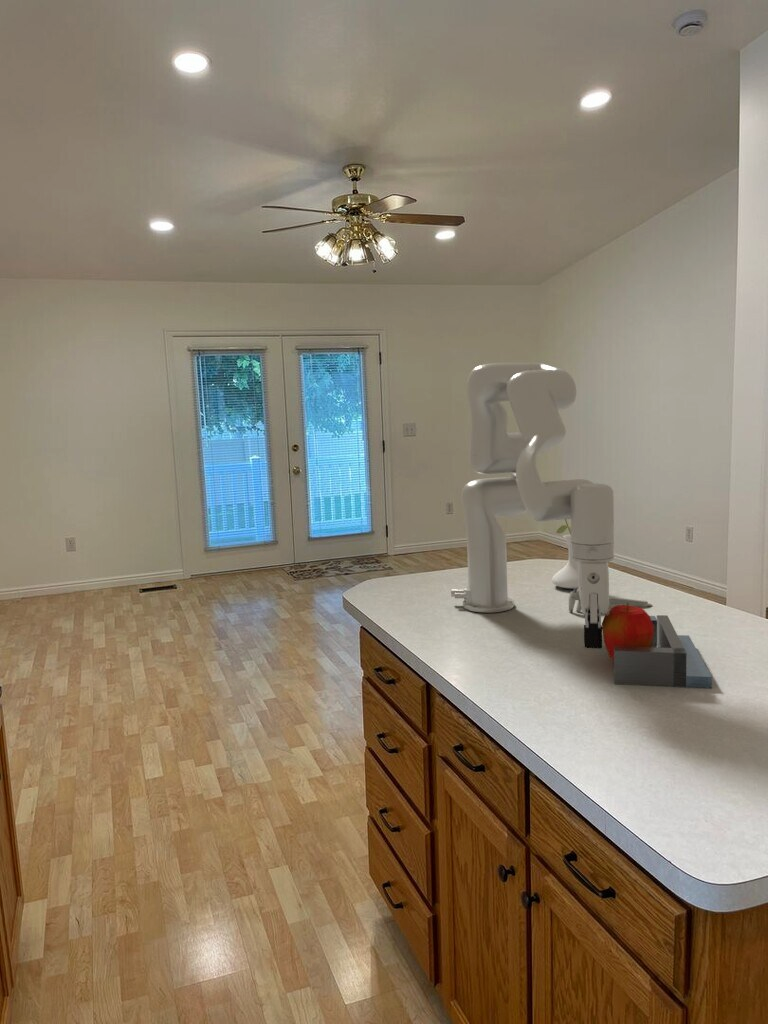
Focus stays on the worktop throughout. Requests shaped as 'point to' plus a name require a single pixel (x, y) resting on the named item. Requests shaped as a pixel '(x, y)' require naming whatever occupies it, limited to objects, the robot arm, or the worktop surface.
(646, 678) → the bracket
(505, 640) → the worktop surface
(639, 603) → the caliper
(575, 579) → the flower in vase
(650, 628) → the apple
